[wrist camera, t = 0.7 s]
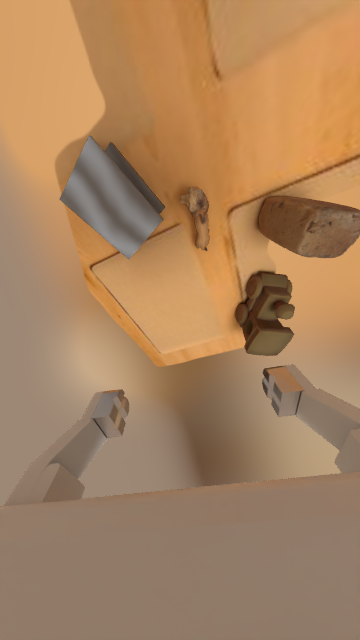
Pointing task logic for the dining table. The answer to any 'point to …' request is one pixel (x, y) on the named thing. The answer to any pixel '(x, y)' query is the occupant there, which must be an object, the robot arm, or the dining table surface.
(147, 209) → the stand
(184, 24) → the dining table surface
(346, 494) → the robot arm
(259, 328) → the wooden toy train
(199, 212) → the lion figurine
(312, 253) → the block
